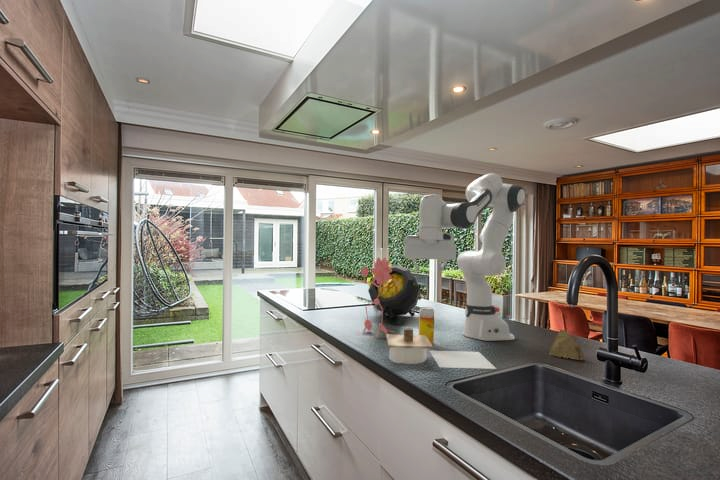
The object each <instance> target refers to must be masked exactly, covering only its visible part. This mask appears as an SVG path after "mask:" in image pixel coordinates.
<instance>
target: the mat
mask: <svg viewBox="0 0 720 480" xmlns="http://www.w3.org/2000/svg"><path fill="white" fill-rule="evenodd" d="M429 353H430V354H431V356H432V358H433V359H434V360H435V362H436V364H437V366H438V368H443V369H446V368H448V369H450V368H451V369H452V368H453V369H482V370H484V369H486V370H489V369H491V370H497V367H495V366H494V365H493V364H492V363H491V362H490V361H489V360H488V359H487V358H486V357H485V356H484V355H483V354H481V353H480V352H479V351H461V350H460V351H459V350H429Z"/></svg>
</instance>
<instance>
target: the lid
mask: <svg viewBox="0 0 720 480" xmlns="http://www.w3.org/2000/svg"><path fill="white" fill-rule="evenodd" d="M385 339H386V343H387V345H388V348H389V349H390V348H419V349H427V350H431V349H432V350H434V346H433V344H431V343H430V341H429V340H428V338H427V337H426V335H419V334H414V329H413V328H412V327H403V334H390V333H388V334H385Z"/></svg>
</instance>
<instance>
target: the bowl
mask: <svg viewBox="0 0 720 480" xmlns="http://www.w3.org/2000/svg"><path fill="white" fill-rule="evenodd" d="M388 350H389V355H388V356H389V360H390V361H391V362H392V363H394V364H399V365H400V364H405V365H406V364H407V365H409V364H412V365H417V364H421V363H424V362H425V361H427V353H428V349H419V348H389V349H388Z"/></svg>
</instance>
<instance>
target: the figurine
mask: <svg viewBox="0 0 720 480" xmlns="http://www.w3.org/2000/svg"><path fill="white" fill-rule="evenodd" d="M391 267H392V266H390V261H389V260H387V258H386V257H384V258H382V259H381V258H380V257H379V256H378V257H377V258H376V262H374V267H373V268H371V273H372V274H373V277H374V280H373V281H372V280H371V281H366V277H367V276H368V275H369V269H368V268H367V266H363V267H362V268H361V269H360V273H361V276H362V277H363V283H364V284H371V283H372V284H374V285H376V284H375V283H374V281H375V280H377V284H380V283H381V282H382V283H384V284H386V283H387V279H390V278H391V280H392V281H393V282H394V283H395V284H396V285H397V286H398V287H399V285H398V284H397V283H396V282H395V281H394V280H393V278H392V277H391V276H390V274H389V273H391V272H392V269H391ZM382 283H381V284H380V286H381V285H382ZM376 286H377V287H378V288H380V286H378V285H376ZM380 290H381V289H379V293H380ZM379 293H378V297H379ZM378 297H377V299H375V300H374V303H373V302H372V303H370V304H368V305H365V312H366V320H365V321H364V329H363V331H362V334H365V331H366V330H367V331H371V330H373V329H374V330H375V329H376V328H375V327H373V323H372V322H371V321H370V320H369V317H368V310H367V309H368V308H367V307H369V306H371V305H373V304H374V305H375V306H376V305H378V304H379V305H380V301H379V300H378ZM380 307H381V305H380ZM381 309H382V307H381ZM381 318H384V317H383V309H382V311H381ZM378 326H379V328H378V329H377V330H378V331H377V334H376V336H375V338H376V339H377V338H378V335H379V334H380V331H382V332H383V333H384V334H385V335H386V334H389V332H391V333H394V331H393V330H390V329H389V330H388V329H387V328H386V327H385V326H384V324H383V319H381V322H379V324H378ZM388 331H389V332H388Z"/></svg>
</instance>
